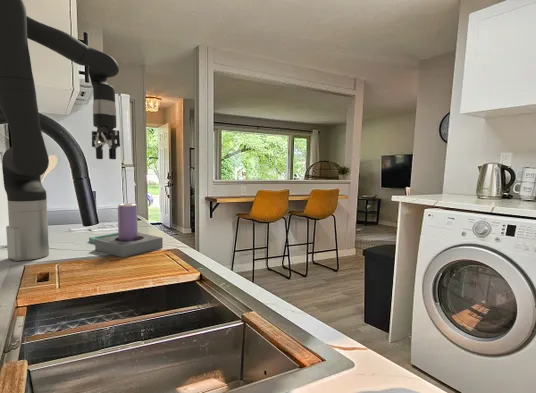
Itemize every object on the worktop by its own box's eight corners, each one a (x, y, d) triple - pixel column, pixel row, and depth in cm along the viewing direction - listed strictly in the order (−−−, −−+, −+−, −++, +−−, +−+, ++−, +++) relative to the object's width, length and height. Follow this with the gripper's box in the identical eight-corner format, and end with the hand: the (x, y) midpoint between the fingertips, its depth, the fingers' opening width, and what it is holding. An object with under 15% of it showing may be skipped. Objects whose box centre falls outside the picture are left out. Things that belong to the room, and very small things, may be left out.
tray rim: (107, 246, 108) (107, 242, 108) (89, 241, 114) (88, 237, 114) (138, 240, 118) (138, 236, 118) (119, 236, 124) (119, 232, 124)
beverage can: (133, 250, 103) (132, 205, 102) (115, 250, 103) (114, 205, 102) (140, 246, 109) (140, 203, 108) (124, 245, 109) (123, 203, 108)
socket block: (122, 257, 96) (121, 246, 95) (95, 249, 104) (95, 239, 103) (162, 247, 108) (162, 237, 108) (135, 241, 116) (135, 232, 116)
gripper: (83, 114, 114) (85, 158, 116) (105, 111, 107) (107, 158, 108) (103, 117, 121) (105, 159, 122) (126, 114, 113) (126, 159, 115)
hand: (106, 159), depth 115 cm, fingers open, 8 cm apart
